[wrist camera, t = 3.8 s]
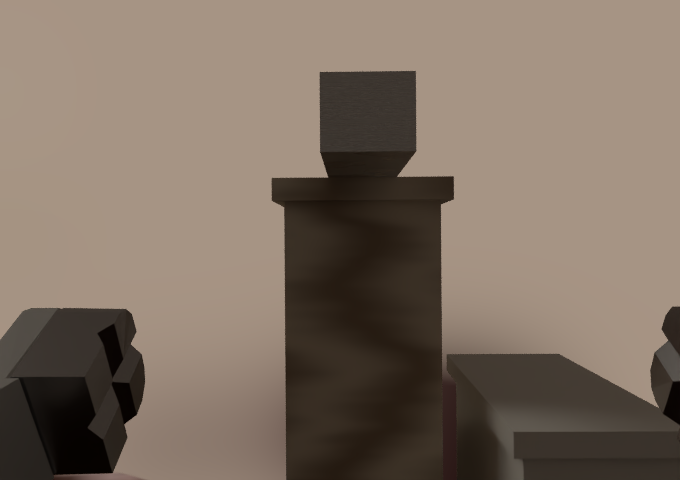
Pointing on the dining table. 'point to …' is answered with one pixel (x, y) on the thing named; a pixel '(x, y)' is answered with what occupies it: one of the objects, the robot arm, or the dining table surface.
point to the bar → (367, 122)
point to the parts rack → (555, 423)
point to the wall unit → (363, 326)
